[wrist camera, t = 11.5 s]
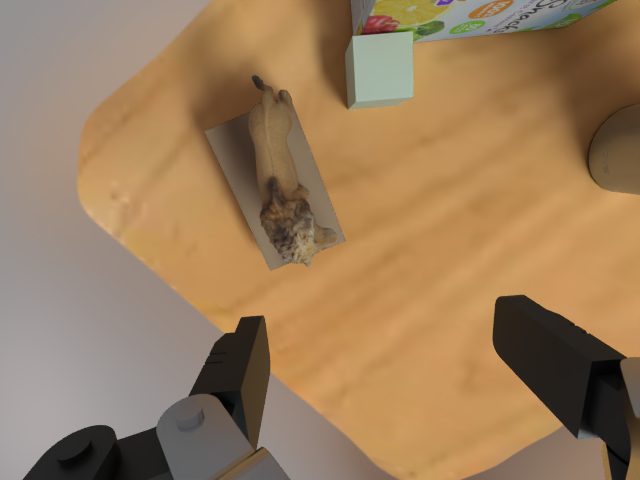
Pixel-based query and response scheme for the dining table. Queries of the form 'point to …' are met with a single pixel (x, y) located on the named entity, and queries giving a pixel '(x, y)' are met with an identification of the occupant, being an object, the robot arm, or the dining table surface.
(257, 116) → the lion figurine
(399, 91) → the sage cube
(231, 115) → the dining table surface
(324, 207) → the taupe rectangular block
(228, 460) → the robot arm
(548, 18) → the snack box
